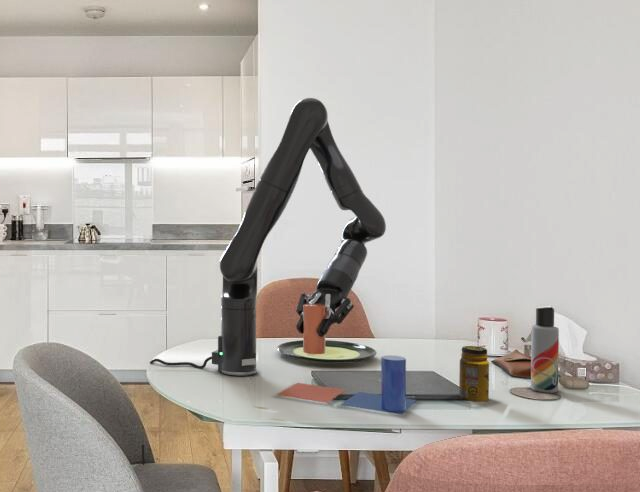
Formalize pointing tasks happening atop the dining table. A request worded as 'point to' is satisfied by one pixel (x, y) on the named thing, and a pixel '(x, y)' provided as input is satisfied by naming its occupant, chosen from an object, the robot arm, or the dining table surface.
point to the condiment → (474, 374)
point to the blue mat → (371, 402)
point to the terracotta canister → (313, 328)
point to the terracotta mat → (311, 392)
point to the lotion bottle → (544, 352)
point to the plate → (329, 351)
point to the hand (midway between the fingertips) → (309, 332)
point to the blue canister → (393, 383)
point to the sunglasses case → (515, 364)
